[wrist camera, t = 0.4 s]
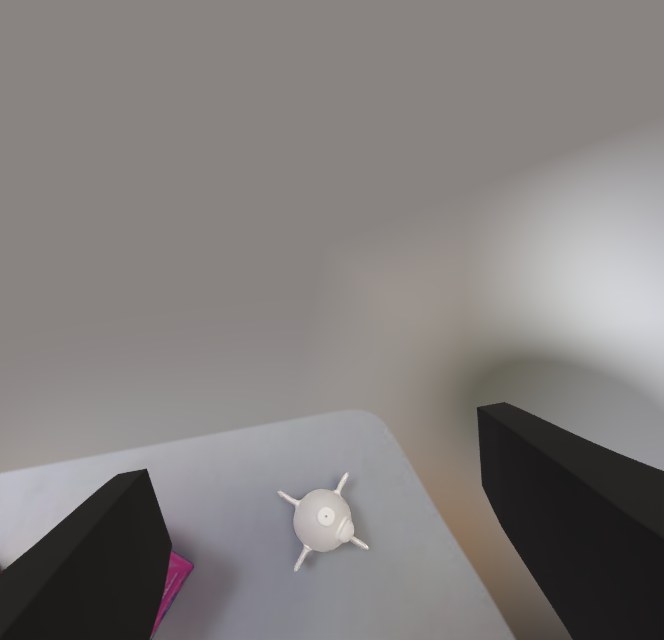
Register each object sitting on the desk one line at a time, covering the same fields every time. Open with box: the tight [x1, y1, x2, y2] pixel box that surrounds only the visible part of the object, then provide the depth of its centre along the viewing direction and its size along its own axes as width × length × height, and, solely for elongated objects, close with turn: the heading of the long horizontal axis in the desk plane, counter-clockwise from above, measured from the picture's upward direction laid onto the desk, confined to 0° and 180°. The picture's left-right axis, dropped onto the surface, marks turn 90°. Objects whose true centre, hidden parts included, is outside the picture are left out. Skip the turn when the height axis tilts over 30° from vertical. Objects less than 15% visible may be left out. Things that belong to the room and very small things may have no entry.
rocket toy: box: [278, 473, 368, 572], centre depth 33 cm, size 5×5×8 cm
